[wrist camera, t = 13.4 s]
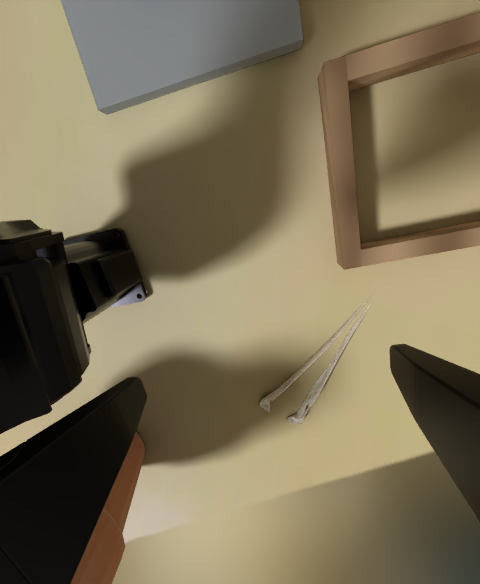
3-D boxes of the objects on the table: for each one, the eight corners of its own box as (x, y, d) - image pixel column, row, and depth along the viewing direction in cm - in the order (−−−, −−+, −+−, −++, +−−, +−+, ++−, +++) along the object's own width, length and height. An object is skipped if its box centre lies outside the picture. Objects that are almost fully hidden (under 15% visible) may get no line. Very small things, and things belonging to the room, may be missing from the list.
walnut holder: (337, 263, 20) (344, 269, 18) (317, 78, 16) (323, 62, 15) (520, 229, 18) (548, 233, 16) (545, 6, 14) (587, -23, 12)
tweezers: (295, 420, 27) (298, 435, 25) (256, 399, 27) (256, 413, 25) (407, 281, 22) (420, 287, 20) (360, 253, 22) (369, 256, 20)
